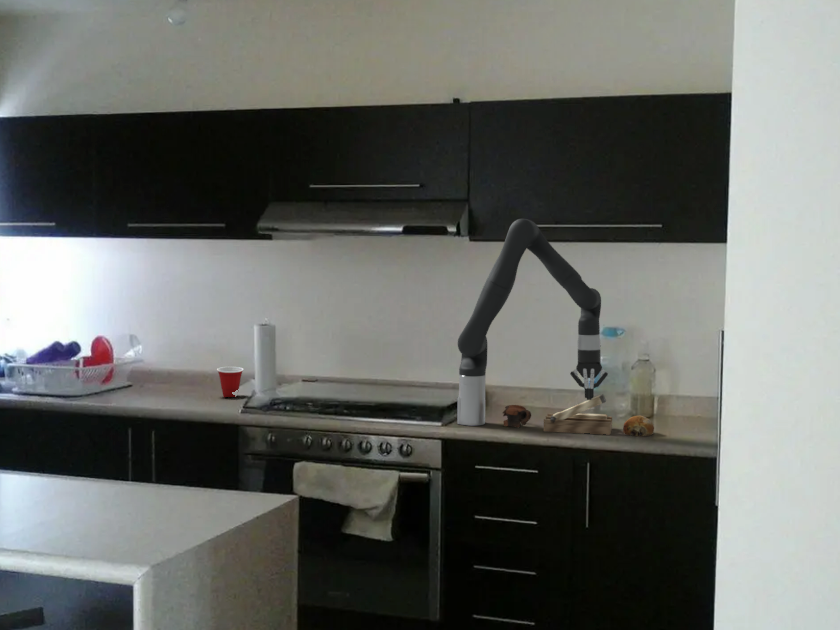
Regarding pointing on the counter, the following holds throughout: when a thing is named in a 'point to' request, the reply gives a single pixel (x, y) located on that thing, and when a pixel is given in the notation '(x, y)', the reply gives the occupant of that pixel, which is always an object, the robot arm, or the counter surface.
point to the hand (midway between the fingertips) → (589, 399)
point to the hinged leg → (579, 408)
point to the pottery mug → (516, 415)
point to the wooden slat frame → (580, 424)
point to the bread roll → (638, 426)
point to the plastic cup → (229, 379)
